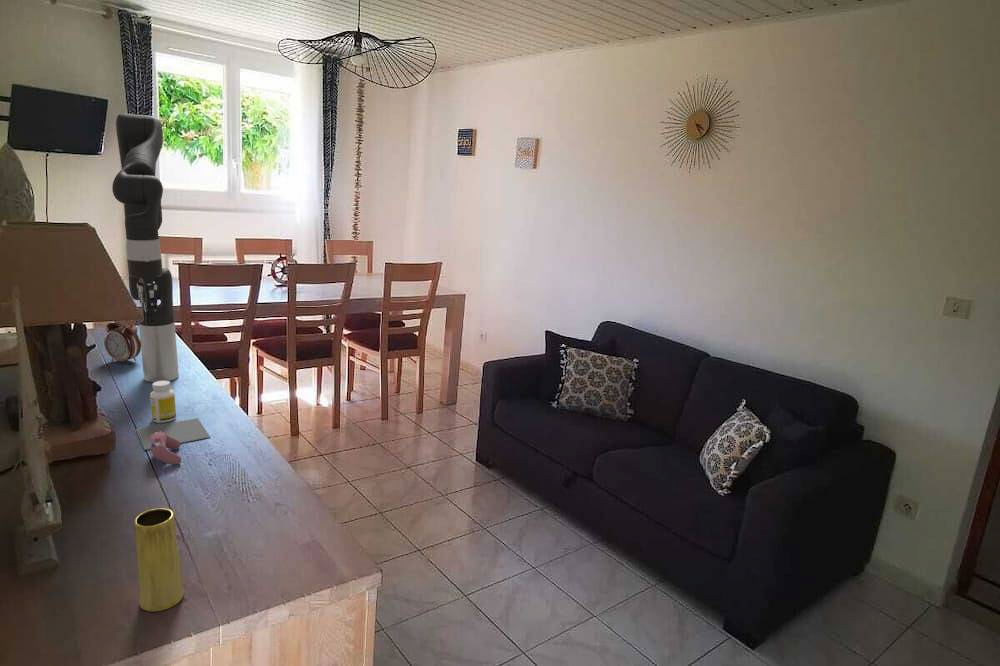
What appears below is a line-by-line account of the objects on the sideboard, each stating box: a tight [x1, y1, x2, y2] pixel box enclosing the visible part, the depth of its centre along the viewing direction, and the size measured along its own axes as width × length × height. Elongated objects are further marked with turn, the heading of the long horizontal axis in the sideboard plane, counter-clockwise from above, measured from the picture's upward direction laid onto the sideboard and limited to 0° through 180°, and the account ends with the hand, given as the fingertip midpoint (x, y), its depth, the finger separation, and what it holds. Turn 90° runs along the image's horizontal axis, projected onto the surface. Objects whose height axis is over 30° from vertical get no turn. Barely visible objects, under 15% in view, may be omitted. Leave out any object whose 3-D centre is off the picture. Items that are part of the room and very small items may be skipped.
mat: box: [135, 417, 211, 451], centre depth 152 cm, size 13×14×1 cm
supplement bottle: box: [149, 381, 177, 424], centre depth 159 cm, size 5×5×10 cm
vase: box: [133, 507, 185, 612], centre depth 95 cm, size 6×6×14 cm
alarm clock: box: [103, 322, 141, 365], centre depth 198 cm, size 11×5×15 cm, turn 73°
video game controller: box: [149, 431, 182, 466], centre depth 140 cm, size 10×5×7 cm, turn 28°
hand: (150, 323), depth 161 cm, fingers open, 3 cm apart
